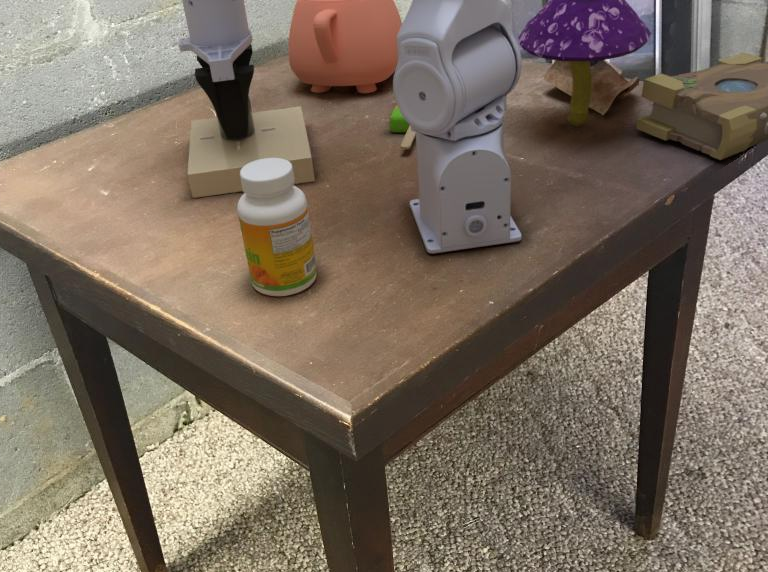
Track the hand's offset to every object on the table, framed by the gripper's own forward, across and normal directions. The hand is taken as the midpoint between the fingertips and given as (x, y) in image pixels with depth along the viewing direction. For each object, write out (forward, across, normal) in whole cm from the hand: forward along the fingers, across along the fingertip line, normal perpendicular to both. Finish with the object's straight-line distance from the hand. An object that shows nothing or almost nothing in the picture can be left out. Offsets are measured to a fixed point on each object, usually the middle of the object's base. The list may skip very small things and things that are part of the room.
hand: (237, 128), depth 90 cm
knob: (0, 0, 0) cm, 0 cm away
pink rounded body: (+3, -20, +14) cm, 24 cm away
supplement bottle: (+3, +26, +3) cm, 27 cm away
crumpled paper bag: (-1, -1, +36) cm, 36 cm away
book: (+3, +10, +48) cm, 50 cm away
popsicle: (+3, -2, +19) cm, 19 cm away
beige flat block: (+3, +2, +1) cm, 3 cm away
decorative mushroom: (+3, +4, +35) cm, 35 cm away
